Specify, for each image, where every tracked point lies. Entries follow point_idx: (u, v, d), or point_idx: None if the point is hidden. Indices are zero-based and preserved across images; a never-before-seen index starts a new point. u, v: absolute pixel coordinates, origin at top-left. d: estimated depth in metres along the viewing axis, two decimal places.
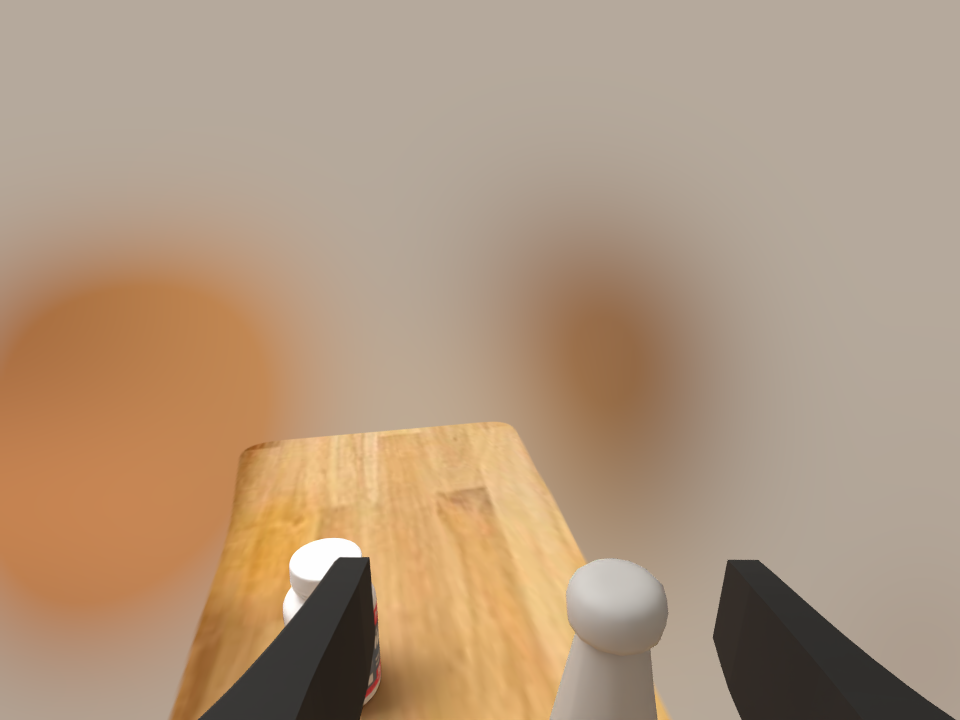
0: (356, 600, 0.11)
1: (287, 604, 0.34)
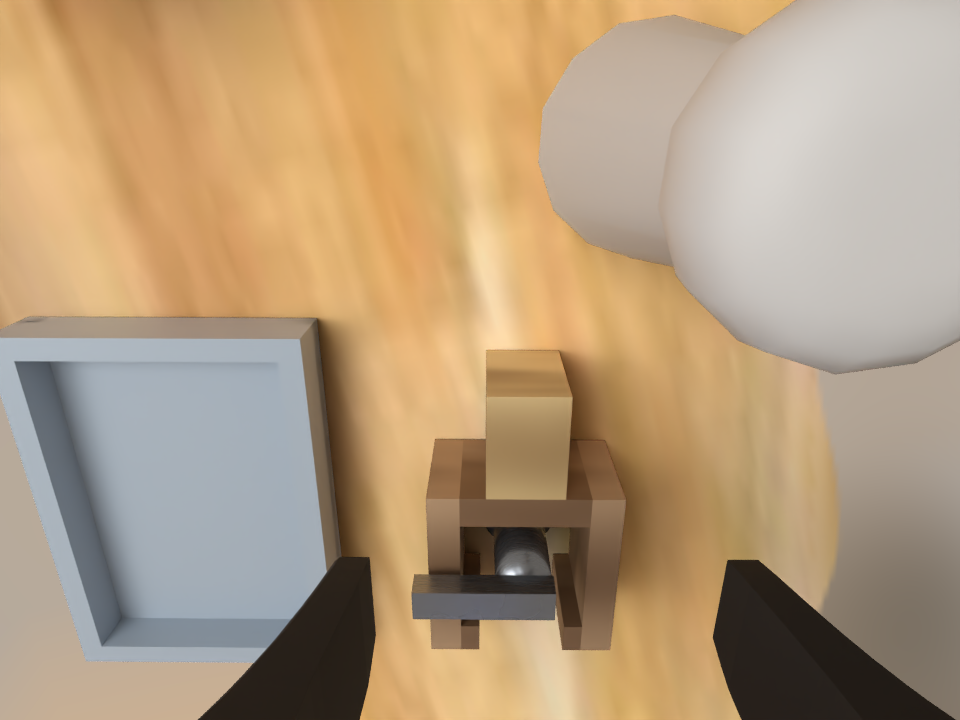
0: (356, 599, 0.11)
1: None
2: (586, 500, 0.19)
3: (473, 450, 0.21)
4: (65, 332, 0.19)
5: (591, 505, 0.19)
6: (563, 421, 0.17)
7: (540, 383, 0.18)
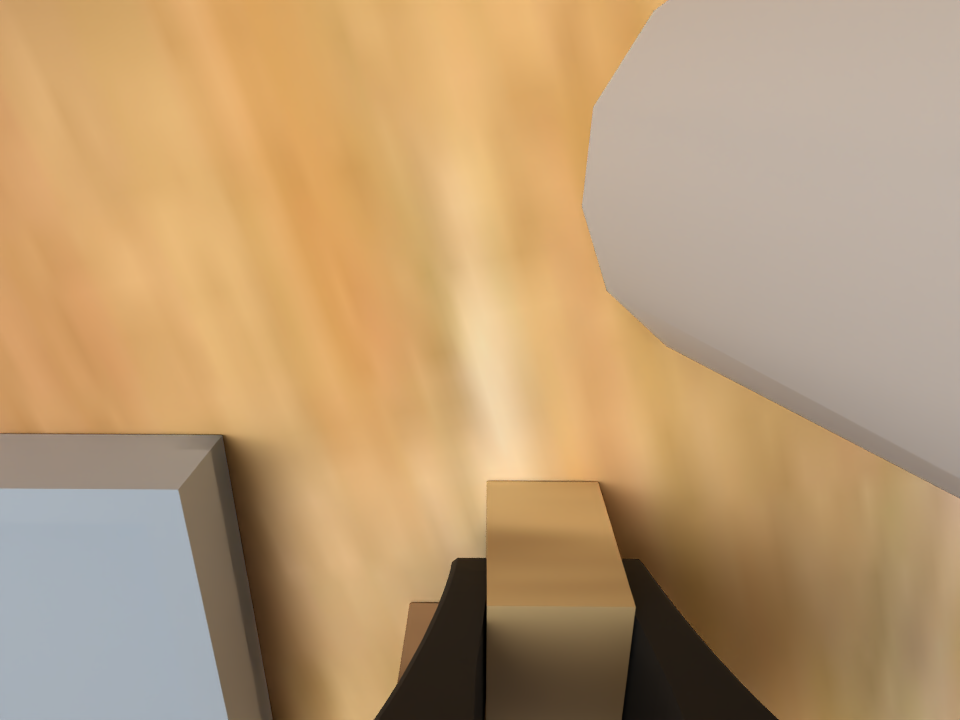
0: (486, 601, 0.11)
1: None
2: None
3: None
4: None
5: None
6: (617, 642, 0.10)
7: (576, 566, 0.11)
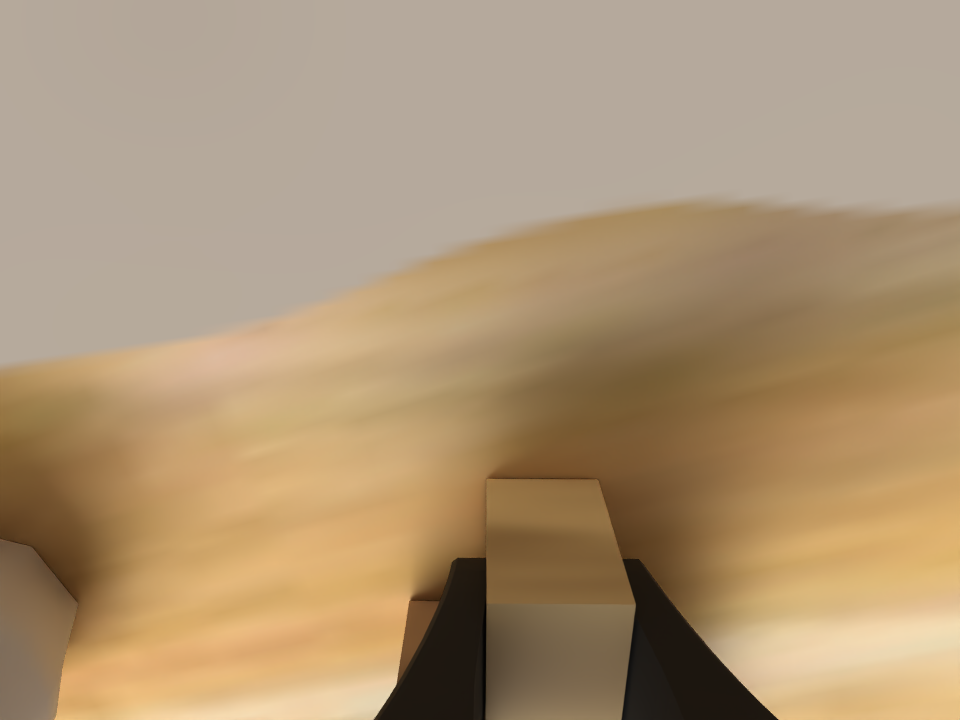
0: None
1: None
2: None
3: None
4: None
5: None
6: (618, 640, 0.10)
7: (575, 564, 0.11)
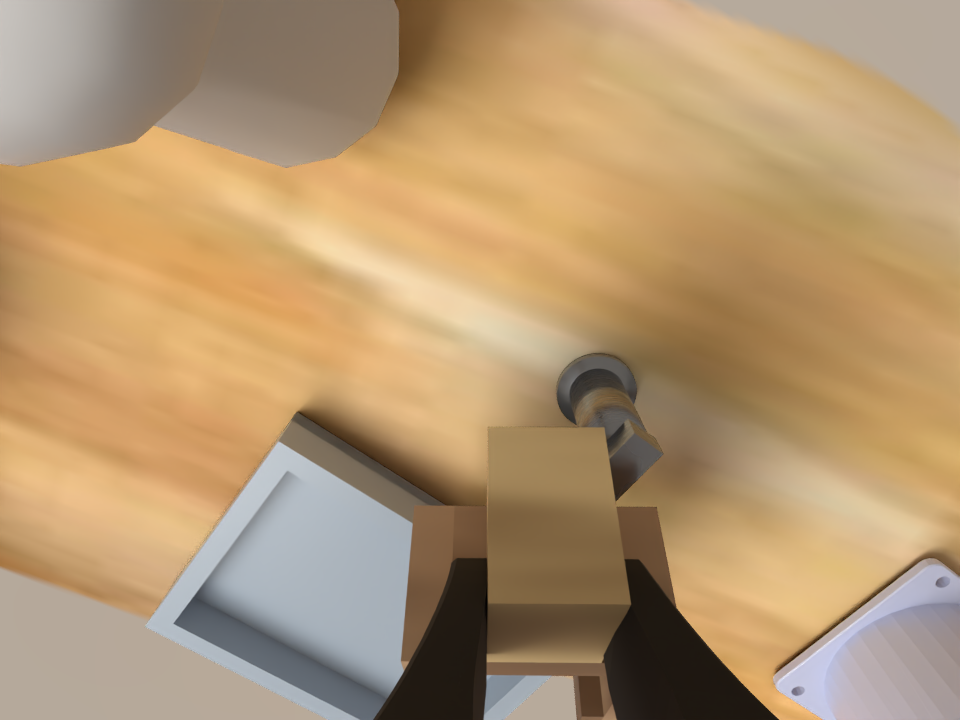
0: (486, 601, 0.11)
1: None
2: None
3: (469, 534, 0.15)
4: (179, 577, 0.22)
5: None
6: (610, 619, 0.11)
7: (576, 550, 0.11)
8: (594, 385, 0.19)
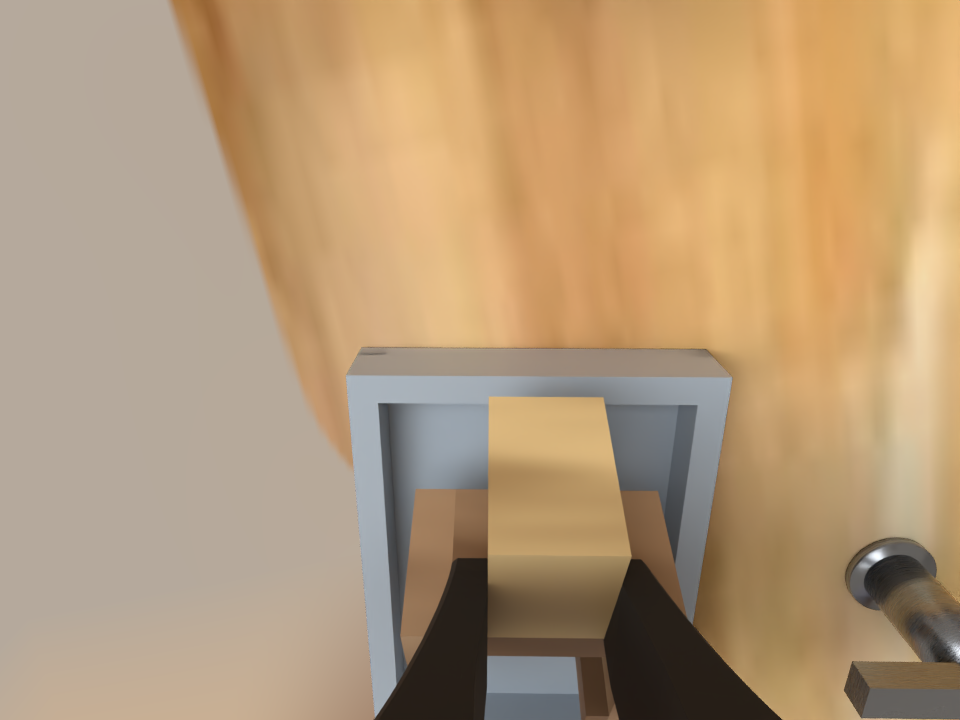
0: (487, 601, 0.11)
1: None
2: None
3: (470, 516, 0.15)
4: (435, 367, 0.16)
5: None
6: (611, 577, 0.11)
7: (576, 507, 0.11)
8: (940, 585, 0.18)
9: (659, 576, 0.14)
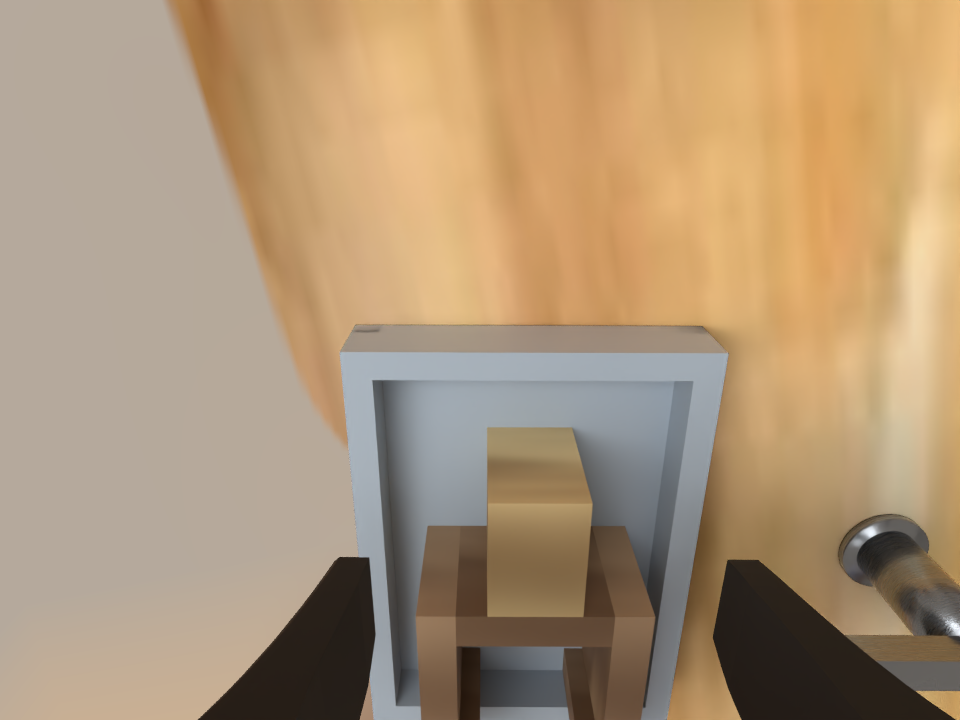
0: (356, 600, 0.11)
1: None
2: (607, 616, 0.16)
3: (472, 542, 0.18)
4: (430, 344, 0.16)
5: (613, 623, 0.15)
6: (581, 531, 0.14)
7: (552, 480, 0.15)
8: (932, 560, 0.18)
9: (627, 577, 0.17)
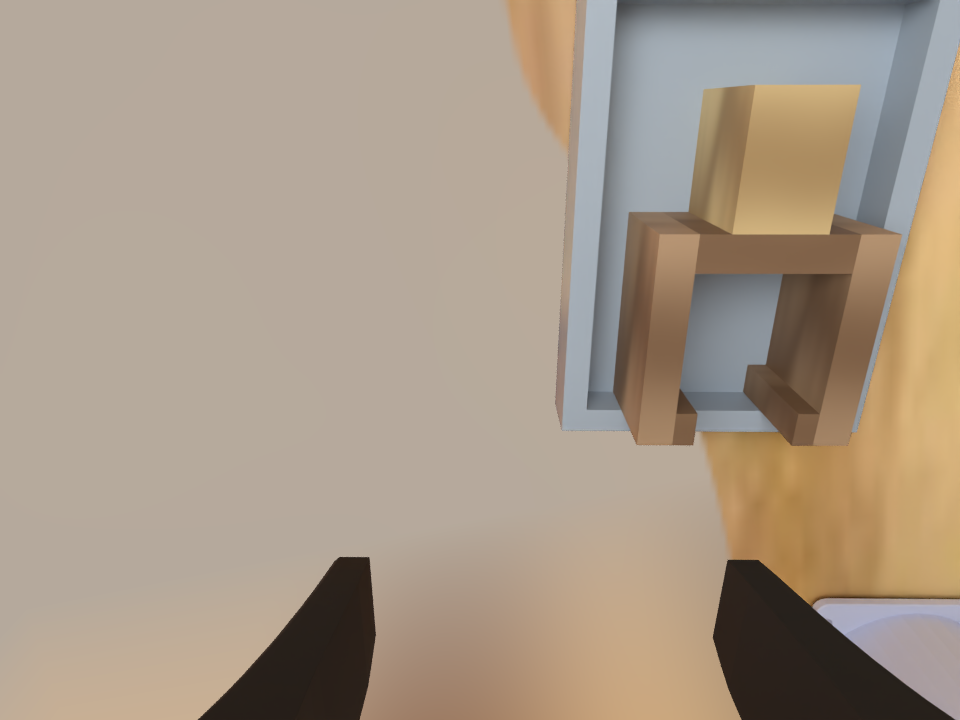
0: (357, 600, 0.11)
1: None
2: (852, 236, 0.15)
3: (682, 216, 0.18)
4: None
5: (859, 242, 0.15)
6: (843, 120, 0.14)
7: None
8: None
9: (855, 223, 0.17)
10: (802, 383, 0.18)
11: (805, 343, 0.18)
